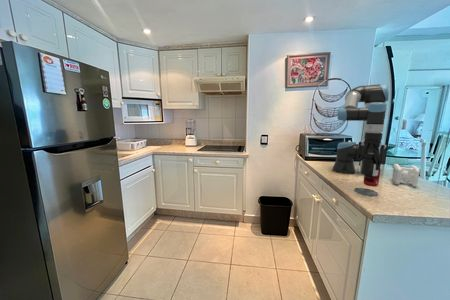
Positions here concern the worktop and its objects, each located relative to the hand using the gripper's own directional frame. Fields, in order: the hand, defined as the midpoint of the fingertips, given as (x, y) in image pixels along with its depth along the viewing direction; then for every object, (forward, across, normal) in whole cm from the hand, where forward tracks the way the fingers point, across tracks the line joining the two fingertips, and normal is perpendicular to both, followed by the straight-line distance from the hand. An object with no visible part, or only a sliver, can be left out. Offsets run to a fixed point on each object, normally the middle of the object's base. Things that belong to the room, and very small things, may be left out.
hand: (368, 173), depth 105 cm
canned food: (+11, -9, +16) cm, 21 cm away
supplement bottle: (+1, 0, 0) cm, 1 cm away
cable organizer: (+11, -4, +37) cm, 39 cm away
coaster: (+11, 0, 0) cm, 11 cm away
